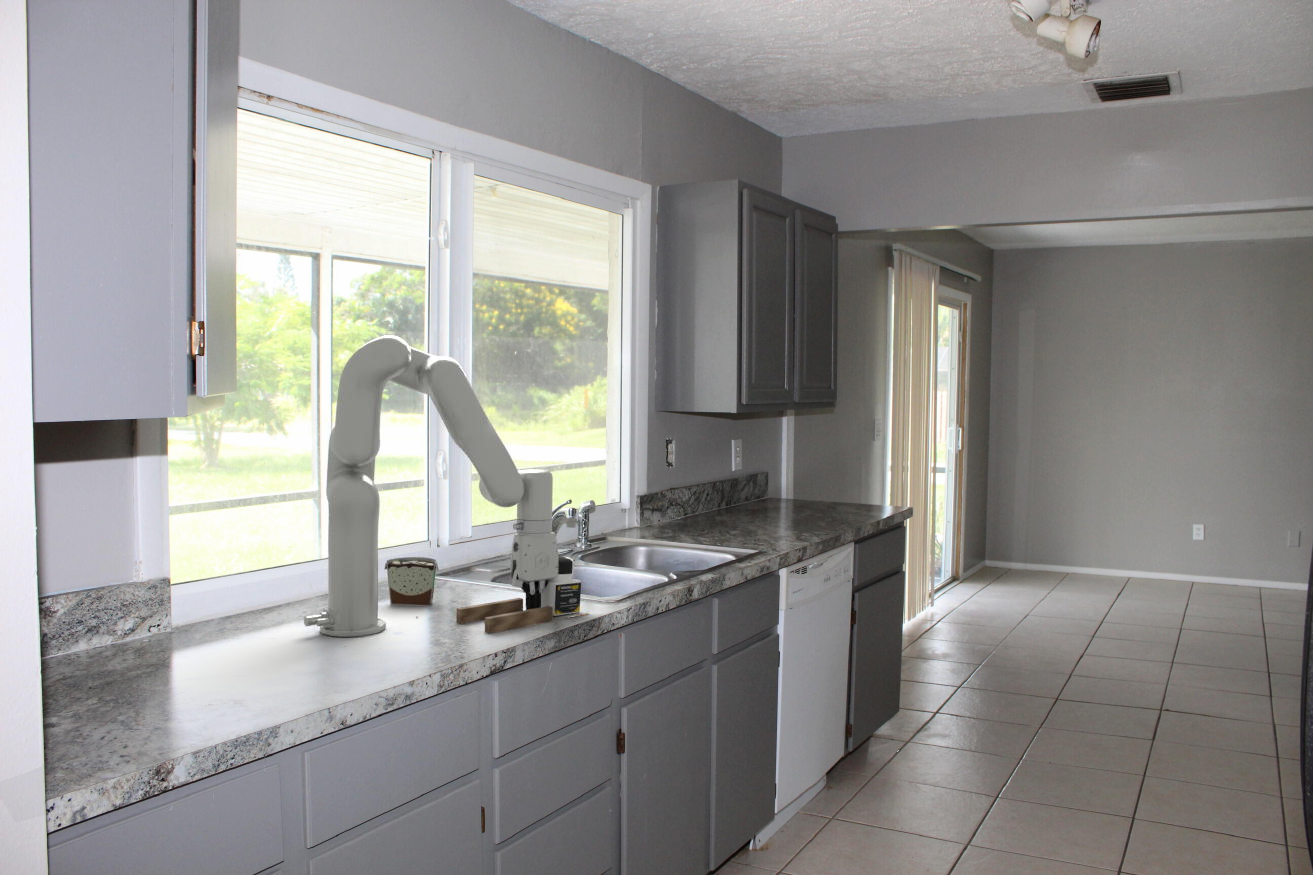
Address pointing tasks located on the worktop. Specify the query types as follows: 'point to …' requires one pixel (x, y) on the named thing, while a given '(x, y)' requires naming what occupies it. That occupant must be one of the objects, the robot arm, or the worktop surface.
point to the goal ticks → (579, 615)
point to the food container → (411, 580)
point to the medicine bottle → (563, 590)
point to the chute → (504, 615)
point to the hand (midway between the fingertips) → (533, 611)
